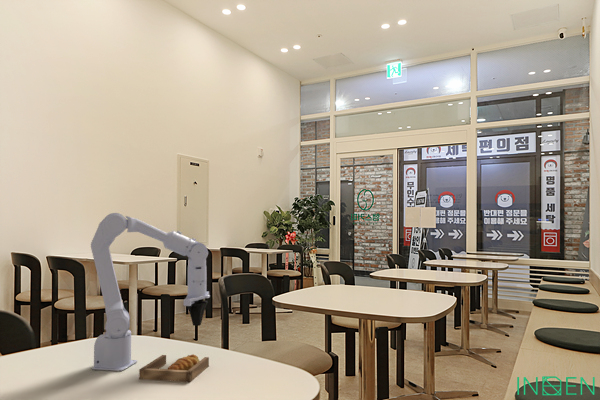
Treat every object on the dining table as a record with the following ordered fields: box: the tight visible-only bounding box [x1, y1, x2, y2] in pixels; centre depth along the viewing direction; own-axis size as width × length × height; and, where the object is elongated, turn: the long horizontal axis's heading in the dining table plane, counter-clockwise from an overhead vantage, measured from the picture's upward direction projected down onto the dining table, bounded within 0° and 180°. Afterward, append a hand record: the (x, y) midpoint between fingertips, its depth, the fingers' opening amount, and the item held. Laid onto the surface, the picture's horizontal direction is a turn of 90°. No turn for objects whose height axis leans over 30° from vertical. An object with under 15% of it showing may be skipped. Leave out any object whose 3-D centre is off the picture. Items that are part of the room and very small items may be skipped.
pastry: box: [167, 353, 201, 371], centre depth 116 cm, size 9×7×4 cm
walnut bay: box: [138, 354, 210, 383], centre depth 115 cm, size 14×12×2 cm
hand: (196, 325), depth 130 cm, fingers closed
